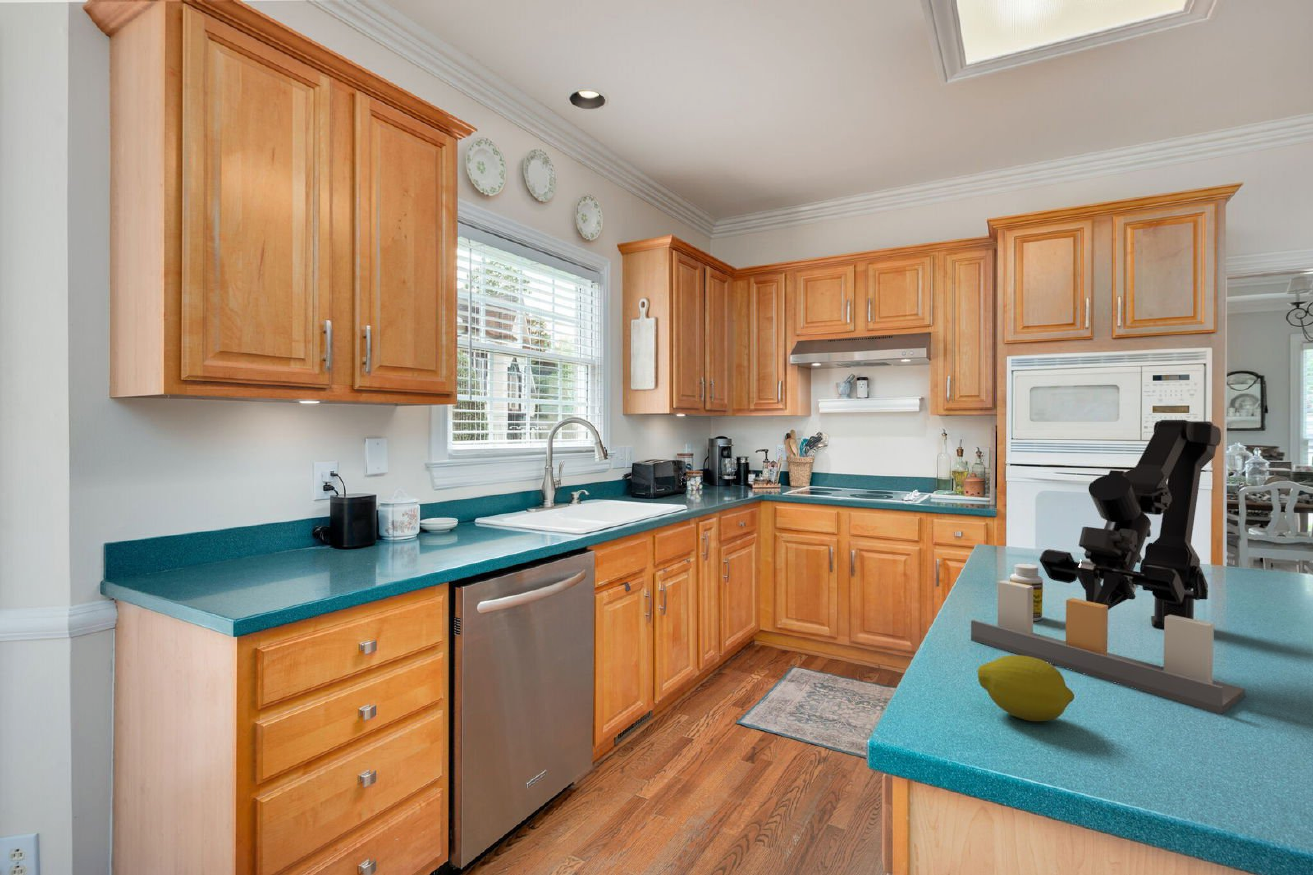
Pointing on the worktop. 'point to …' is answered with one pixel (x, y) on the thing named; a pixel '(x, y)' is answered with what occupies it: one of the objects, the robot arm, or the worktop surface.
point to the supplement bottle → (1029, 577)
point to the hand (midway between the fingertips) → (1090, 617)
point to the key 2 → (1188, 648)
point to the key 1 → (1015, 607)
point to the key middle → (1087, 625)
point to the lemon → (1026, 687)
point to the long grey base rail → (1111, 668)
